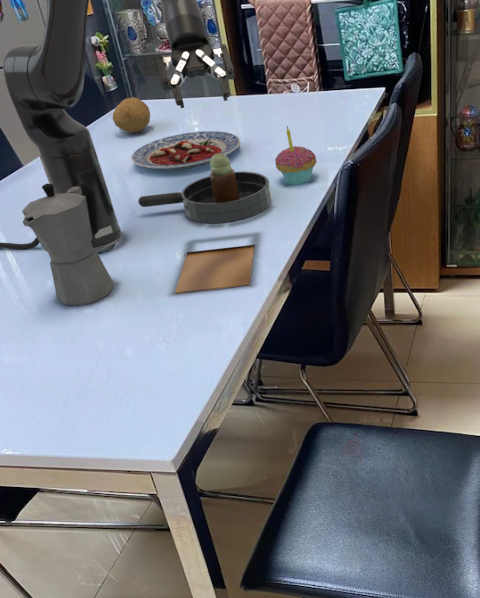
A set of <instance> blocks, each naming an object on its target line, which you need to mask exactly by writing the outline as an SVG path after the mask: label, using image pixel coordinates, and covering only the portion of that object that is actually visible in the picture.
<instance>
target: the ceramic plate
mask: <svg viewBox="0 0 480 598" xmlns="http://www.w3.org/2000/svg"><path fill="white" fill-rule="evenodd" d="M240 144H241V139H240V138H239V136H237V135H236V134H233V133H231V132H227V131H218V130H216V131H215V130H210V131H209V130H208V131H207V130H205V131H204V130H203V131H202V130H201V131H193V132H185V133H179V134H174V135H170V136H165V137H162V138H159V139H156V140H153V141H150V142H148V143H146V144H144V145H142V146H140V147H139V148H137V149H136V150H135V151H134V152H133V153H132V154H131V157H130V158H131V161H132V163H134V164H135V165H136V166H138V167H142V168H148V169H157V170H158V169H159V170H161V169H164V170H185V169H190V168H191V169H192V168H195V167H199V166H203V165H206V164H208V163H209V164H210V160H211V158H212V157H213V156H214V155H215V154H218V153H221V154H224V155H226V156H227V155H230V154H231V153H233V152H234V151H235V150H236V149H238V148H239V146H240Z"/></svg>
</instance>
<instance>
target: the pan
mask: <svg viewBox="0 0 480 598" xmlns="http://www.w3.org/2000/svg"><path fill="white" fill-rule="evenodd" d="M235 176H236V181H237V186H238V191H239V196H240V199H238V200H233V201H228V202H221V203H216V202H215V198H214V193H213V188H212V184H211V179H210V175H209V176H205V177H202V178H200V179H197V180H195V181H193V182H191V183H189V184H188V185H186V186H185V187H184V188H183V189H182V190H181V197H182V201H183V202H182V205H183V209H184V212H185V213H184V214H185V215H186V217H187V218H188V219H190V220H191V221H193V222H197V223H202V224H224V223H225V224H226V223H232V222H237V221H242V220H245V219H248V218H252V217H254V216H256V215H259V214H260V213H263V212H264V211H265V210H267V209H268V208H269V207H270V205H271V204H272V202H273V201H272V200H273V198H272V191H271V186H270V180H269V178H268V177H267V176H265V175H263V174H261V173H258V172H253V171H235Z"/></svg>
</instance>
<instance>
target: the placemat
mask: <svg viewBox="0 0 480 598" xmlns="http://www.w3.org/2000/svg"><path fill="white" fill-rule="evenodd" d="M255 246H256V245H255V244H247V245H238V246H231V247H222V248H213V249H202V250H195V251H187V252H186V255H185V257H184V258H185V259H184V262H183V263H182V264H183V265H182V267H181V271H180V274H179V278H178V281H177V285H176V288H175V291H174V293H175V294H184V293H194V292H202V291H204V292H205V291H211V290H220V289H229V288H230V289H231V288H237V287H247V286H250V285H251V279H252V278H251V277H252V271H253V270H252V269H253V264H254V263H253V262H254V253H255Z"/></svg>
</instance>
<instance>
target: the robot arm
mask: <svg viewBox="0 0 480 598" xmlns="http://www.w3.org/2000/svg"><path fill="white" fill-rule="evenodd" d="M159 1H160V5H161V10H162V18H163V23H164V27H165V28H164V29H165V31H166V35H167V39H168V42H169V46H170V51H171V55H170V56H163V54H160V53H159V54H157V55H156V61H157V67H158V73H159V78H160V83H161V87H162V90H163V91H168V90H170V91H172V94H173V98H174V100H175V101H174V103H175V105H176V106H177V107H179V106H180V109H185V104H184V100H183V95H182V91H181V87H182V84H184V83H185V80H186V78H187V77H188V78H189V79H191V78H195V77H197V76H199V77H203V76H206V74H207V75H209V76H210V77H211V79H215V80H216V81H218V82H219V86H220V91H221V95H222V99H223V102H227V101H228V98H230V95H231V93H230V87H229V84H228V81H230V80H231V81H232V80H234V79H235V69H234V64H233V61H232V60H231V59H232V58H231V56H230V53H229V50H228V47H227V44H224V43H223V44H221V45H220V48H215V49H214V48H212V46H211V45H210V41H209V39H208V38H209V37H208V34H207V30H206V26H205V22H204V18H203V14H202V11H201V8H200V6H199V4H198V0H159ZM89 3H90V0H45V7H46V16H45V17H46V18H45V25H44V34H43V38H42V40H41V41H42V42H41V44H20V45H16V46H13V47H11V48H10V49H9V50H8V51H7V52H6V53H5V56H4V59H3V64H2V72H3V78H4V83H5V87H6V89H7V93H8V95H9V98H10V100H11V102H12V105H13V107H14V110H15V112H16V114H17V117H18V120H19V121H20V123H21V126H22V129H23V131H24V133H25V135H26V136H27V138H28V140H29V141H30V142H31V143H32V144H33V146H34V147H35V149H36V151H37V154H38V156H39V159H40V162H41V165H42V167H43V170H44V173H45V175H46V178H47V179H46V180H47V181H48V184H53V187H54V193H55V194H62V193H67V190H69V189H70V188H72V187H76V186H77V185H78V184H80V183H85V184H87V185H88V186H89V187H91V188H92V189H93V190H94V191H95V196H96V208H97V219H98V233H97V234H96V235H94V236H93V238H92V240H91V244H92V247H93V249H94V250H95V251H96V252H97V253H98V254H100V253H103V252H107V251H109V250H112V249H114V247H115V245H116V244H117V243H119V242H120V241H121V240H122V239H123V236H124V235H123V232H122V231H121V230H122V229H121V227H120V224H119V221H118V218H117V215H116V211H115V208H114V206H113V205H114V204H113V202H112V199H111V195H110V192H109V189H108V185H107V183H106V180H105V176H104V173H103V170H102V167H101V164H100V161H99V157H98V154H97V151H96V147H95V144H94V141H93V139H92V136H91V135H92V134H91V133H90V130H89V129H88V128H87V127H86V126H85V125H84V124H82V123H80V122H78V121H76V120H75V119H74V118H72V117H71V116H70V115H69V114H68V112H67V111H65V110H66V109H70V108H73V107H74V106H75V105H77V103H78V102H79V100H80V98H81V96H82V93H83V90H84V83H85V73H86V72H85V70H86V40H87V22H88V11H89ZM215 58H218V60H219V61H220V62H223V65H224V68H225V70H224V69H222V68H221V67H220V66H219V65H218V63H217V62H215V61H214V60H215ZM170 65H172V66H173V67H175V70H174V73H173V75H172V77H171V79H170V78H168V75H167V71H169V69H170ZM84 196H85V195H84ZM85 197H86V196H85ZM86 204H87V202H86ZM87 210H88V206H87ZM90 226H91V224H90ZM39 244H40V242H39V240H38V239H37V237H36V236H35V238H34V240H32V242H28V243H14V242H0V249H11V250H12V249H13V250H29V249H33V248H36V247H38V246H39Z"/></svg>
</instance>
